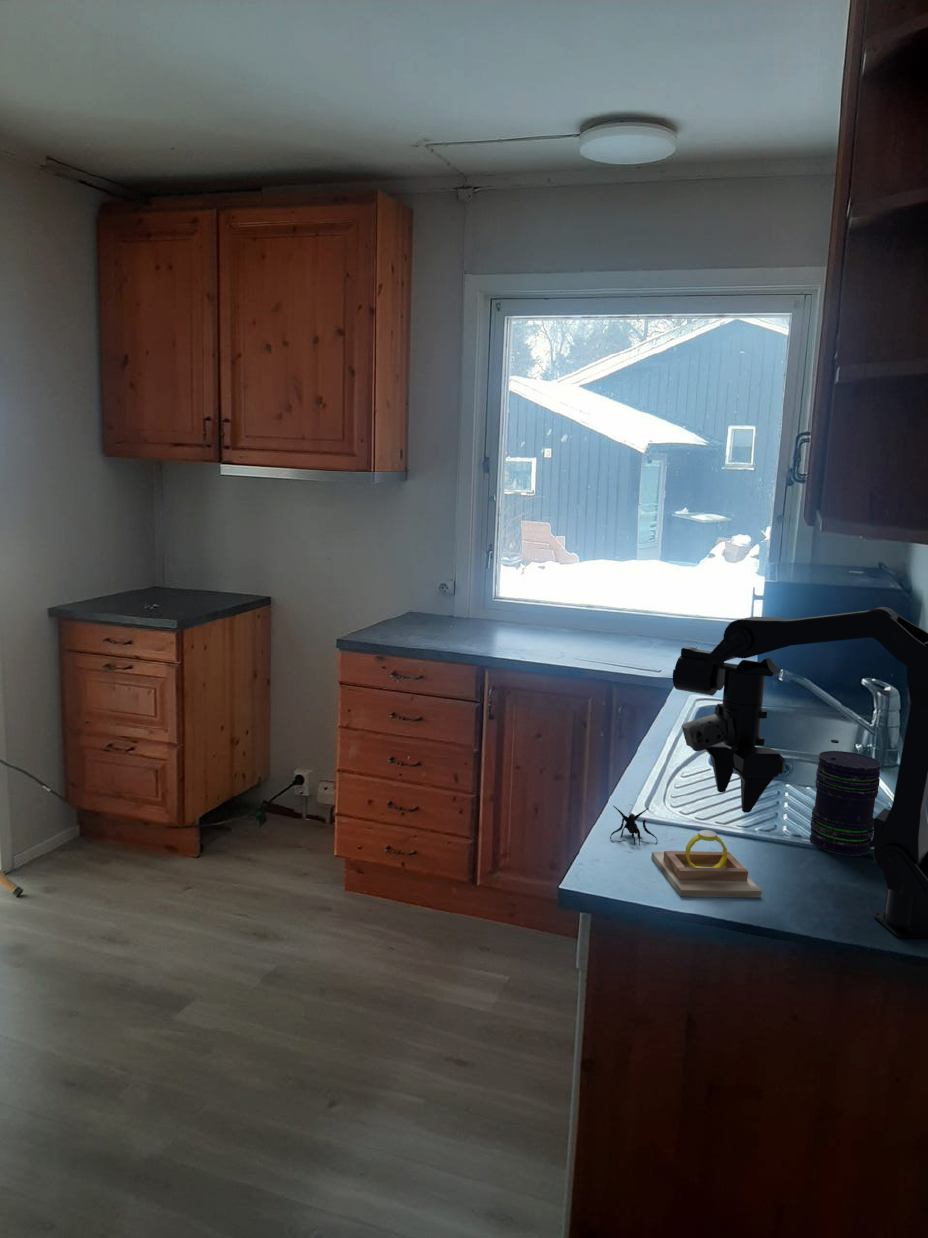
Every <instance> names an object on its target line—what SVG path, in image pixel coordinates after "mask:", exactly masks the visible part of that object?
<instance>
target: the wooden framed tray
mask: <svg viewBox="0 0 928 1238" xmlns="http://www.w3.org/2000/svg"><path fill="white" fill-rule="evenodd" d="M685 851H686V850H684V851H683V850H682V851H681V850H664V851H651V857H650V858H651V859H652V861H653V863H654V864H655V865H656V867H658V869H659V870H660V871H661V873H662V874H663V875H664V877H665V878H666V880H667V881H668V882H669V883H670V884H671V885H672V886H671V887H673V889H674V890H675V891H676V892H677V894H678V895H679V896H680V897H683V898H685V897H687V898H693V897H694V898H698V897H699V898H762V894H763V891H762V890H761V888H759V887H758V885H757V884H755V882H754V881H753V880H752V879H751V878H750V877H749V871H748V869H746V868H745V867H744V866H743V864H742V863H740V862H739V860H738V859H736V857H735V856H734V855H733V854H732V853H730V851H727V859H726V862H725V864H724V866H723V867H722V868H692V867H691V866H690V865H689V863H688V861H687V858H686V855H685V854H686V853H685ZM722 856H723V851H691V850H690V855H689V857H690V860H691V862H692V863H693V864H694V865H695V866H700V867H713V866H715V865H716V864H718V863H719V861H720V860H721V858H722Z"/></svg>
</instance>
